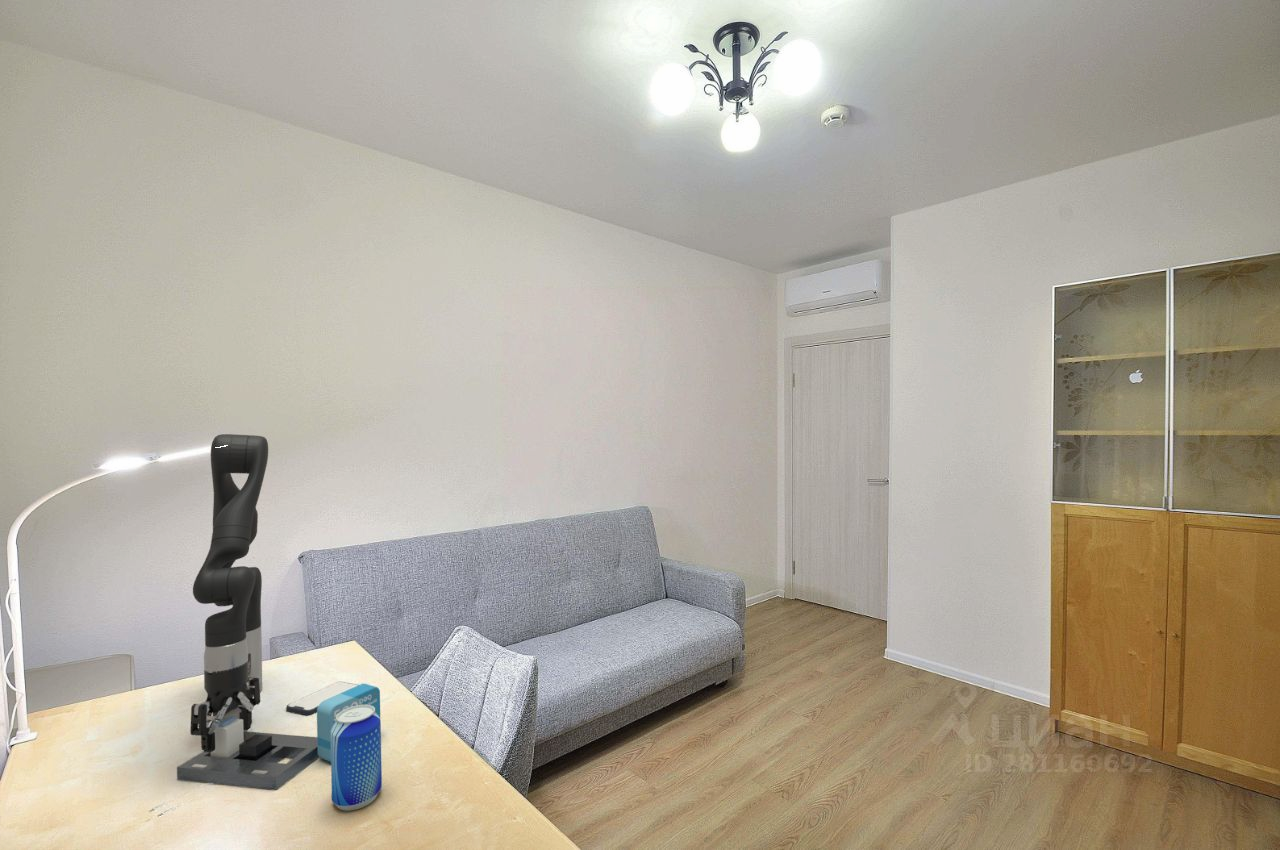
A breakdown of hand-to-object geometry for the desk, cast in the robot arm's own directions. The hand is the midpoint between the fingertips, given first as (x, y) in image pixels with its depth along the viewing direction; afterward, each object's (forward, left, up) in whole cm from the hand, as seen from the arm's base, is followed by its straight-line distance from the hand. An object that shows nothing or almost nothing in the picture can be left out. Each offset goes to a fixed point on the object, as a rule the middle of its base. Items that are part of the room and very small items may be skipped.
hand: (227, 739), depth 120 cm
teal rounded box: (+23, +8, -5) cm, 25 cm away
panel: (+7, 0, -5) cm, 8 cm away
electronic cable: (+2, -12, -5) cm, 13 cm away
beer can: (+36, -7, -5) cm, 37 cm away
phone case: (0, +28, -5) cm, 29 cm away
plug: (0, 0, -5) cm, 5 cm away
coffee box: (-10, +11, -5) cm, 16 cm away
